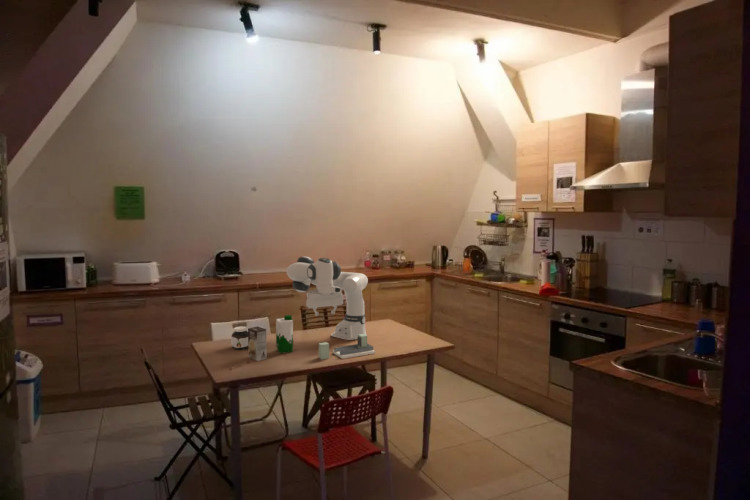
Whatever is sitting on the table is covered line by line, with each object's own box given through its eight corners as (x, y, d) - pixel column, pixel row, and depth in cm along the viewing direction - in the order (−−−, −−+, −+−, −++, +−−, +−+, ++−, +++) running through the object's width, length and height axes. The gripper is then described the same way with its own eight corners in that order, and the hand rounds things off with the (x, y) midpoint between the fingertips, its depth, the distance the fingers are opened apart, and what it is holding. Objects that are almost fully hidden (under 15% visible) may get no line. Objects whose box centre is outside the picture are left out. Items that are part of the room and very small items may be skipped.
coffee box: (247, 357, 272) (247, 328, 271) (258, 354, 277) (257, 326, 275) (256, 361, 266) (256, 331, 264) (267, 358, 270) (266, 329, 269)
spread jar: (229, 348, 288) (228, 328, 287) (241, 343, 298) (240, 324, 297) (247, 351, 284) (247, 330, 283) (258, 345, 294) (258, 326, 293)
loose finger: (329, 358, 272) (329, 343, 271) (321, 359, 269) (321, 344, 269) (326, 356, 275) (326, 341, 274) (318, 357, 273) (318, 343, 272)
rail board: (342, 358, 271) (342, 341, 270) (332, 352, 281) (332, 336, 280) (374, 353, 281) (374, 336, 280) (364, 347, 291) (364, 331, 290)
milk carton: (294, 352, 282) (294, 317, 280) (278, 354, 278) (277, 318, 276) (290, 348, 290) (290, 313, 288) (275, 349, 286) (274, 315, 284)
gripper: (308, 291, 261) (308, 317, 262) (344, 288, 271) (344, 313, 272) (304, 289, 266) (304, 315, 268) (339, 286, 276) (339, 311, 278)
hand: (325, 314), depth 270 cm, fingers open, 8 cm apart
